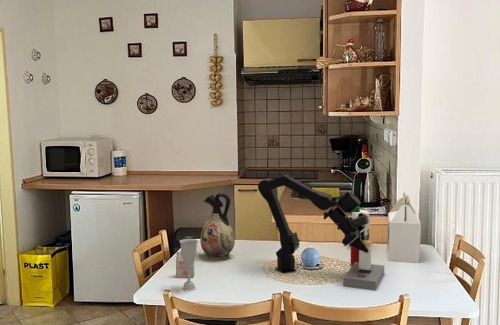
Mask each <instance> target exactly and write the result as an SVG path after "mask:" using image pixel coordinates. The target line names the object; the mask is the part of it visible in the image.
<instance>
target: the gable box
mask: <svg viewBox="0 0 500 325" xmlns="http://www.w3.org/2000/svg"><path fill="white" fill-rule="evenodd" d="M421 231H422V223H421V220H420V218H419V216H418V214H417V212H416V211H415V209H414V207H413V206H412V205H411V201H410V198H409V195H408V194H406V193H405V192H402V198H399V199H398V200H397V201H396V203H395V204H394V205H393V206H392V208H391V210H390V211H389V212H388V213H387V237H386V239H387V246H386V251H387V252H386V253H387V260H388V261H389V262H402V263H415V264H419V263H420V258H421V257H420V255H421V254H420V253H421V233H422V232H421Z"/></svg>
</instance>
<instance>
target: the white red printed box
mask: <svg viewBox="0 0 500 325" xmlns="http://www.w3.org/2000/svg"><path fill="white" fill-rule="evenodd" d="M187 269H188V266H186V265H185V263H184V261H183V259H182V256H181V251H176V259H175V270H176V271H175V272H176V273H175V278H178V279H188V277H187V275H188V272H187ZM190 270H191V272H190V275H191V277H190V279H194V277H195V261H194V262H193V265H191V266H190Z"/></svg>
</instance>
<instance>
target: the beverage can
mask: <svg viewBox="0 0 500 325" xmlns="http://www.w3.org/2000/svg"><path fill="white" fill-rule="evenodd" d="M355 262H357V263H359V249H357V248H355V247H352V246H350V265H351V267H352V266H353V264H354V263H355Z"/></svg>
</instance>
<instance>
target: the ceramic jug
mask: <svg viewBox="0 0 500 325" xmlns="http://www.w3.org/2000/svg"><path fill="white" fill-rule="evenodd" d="M220 198H224V200H225V207H224V210H223V211H222V210H221V208H223V206H224V204H223V202H222V201H221V199H220ZM203 203H206V204H207V205H210V206H211V207H212V213H211V214H210V216H209V217H208V219H207V220H206V222H205V223H204V226H203V227H202V230H201V233H200V239H199V242H200V247H201V250H202V251H203V252H204V253H205V255H207V259H209V260H213V261H218V260H219V261H220V260H226V259H229V255H230V253H231V252H232V251H233V249H234V247H235V240H236V239H235V234H234V230H233V227H232V226H231V224H230V222H229V218H228V212H229V208H230V206H231V197H230V195H229V194H228V193H227V192H224V191H223V192H221V191H220V192H218V193H216V195H214V194H213V193H212V194H211V195H208V196H207V197H206V198H205V199H204V200H203Z"/></svg>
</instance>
